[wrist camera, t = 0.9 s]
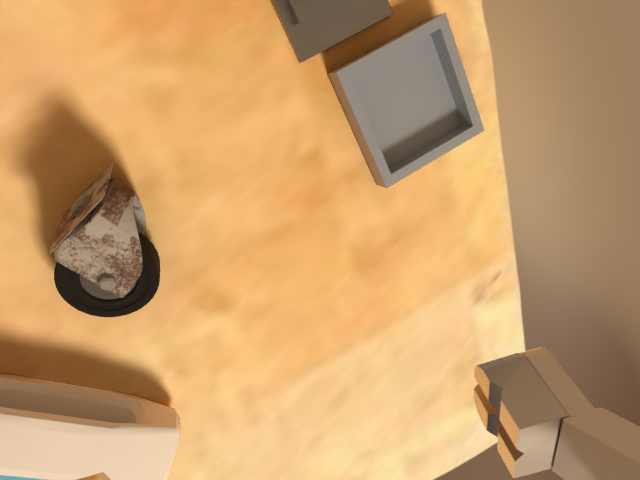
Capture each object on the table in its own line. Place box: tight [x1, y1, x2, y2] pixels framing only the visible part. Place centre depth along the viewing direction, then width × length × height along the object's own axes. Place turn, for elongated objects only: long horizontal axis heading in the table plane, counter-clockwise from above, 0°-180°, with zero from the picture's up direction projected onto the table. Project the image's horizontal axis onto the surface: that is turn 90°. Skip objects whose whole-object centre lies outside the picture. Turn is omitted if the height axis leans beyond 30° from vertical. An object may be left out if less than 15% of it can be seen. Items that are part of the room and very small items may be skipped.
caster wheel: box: [48, 163, 160, 317], centre depth 40 cm, size 7×11×10 cm
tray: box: [328, 13, 484, 188], centre depth 47 cm, size 12×12×2 cm
